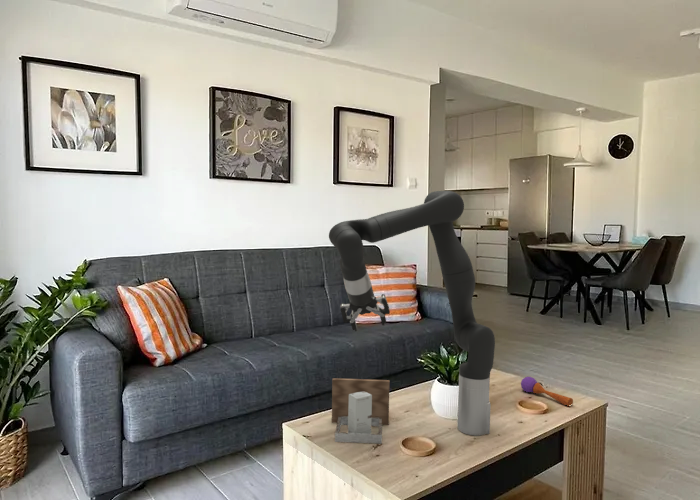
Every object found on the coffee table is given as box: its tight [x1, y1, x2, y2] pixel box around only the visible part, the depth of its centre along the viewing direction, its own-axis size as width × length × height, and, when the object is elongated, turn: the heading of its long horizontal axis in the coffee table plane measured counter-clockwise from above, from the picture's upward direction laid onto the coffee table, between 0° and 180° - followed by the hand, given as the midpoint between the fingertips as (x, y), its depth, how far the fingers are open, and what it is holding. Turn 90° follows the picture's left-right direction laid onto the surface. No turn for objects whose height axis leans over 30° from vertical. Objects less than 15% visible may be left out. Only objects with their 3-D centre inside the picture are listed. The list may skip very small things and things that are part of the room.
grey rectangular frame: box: [334, 416, 383, 444], centre depth 151 cm, size 14×13×2 cm
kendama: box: [520, 376, 574, 407], centre depth 183 cm, size 6×6×20 cm
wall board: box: [331, 377, 390, 426], centre depth 160 cm, size 18×4×14 cm, turn 87°
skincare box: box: [347, 391, 372, 434], centre depth 151 cm, size 6×4×12 cm
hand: (369, 326), depth 154 cm, fingers open, 8 cm apart
